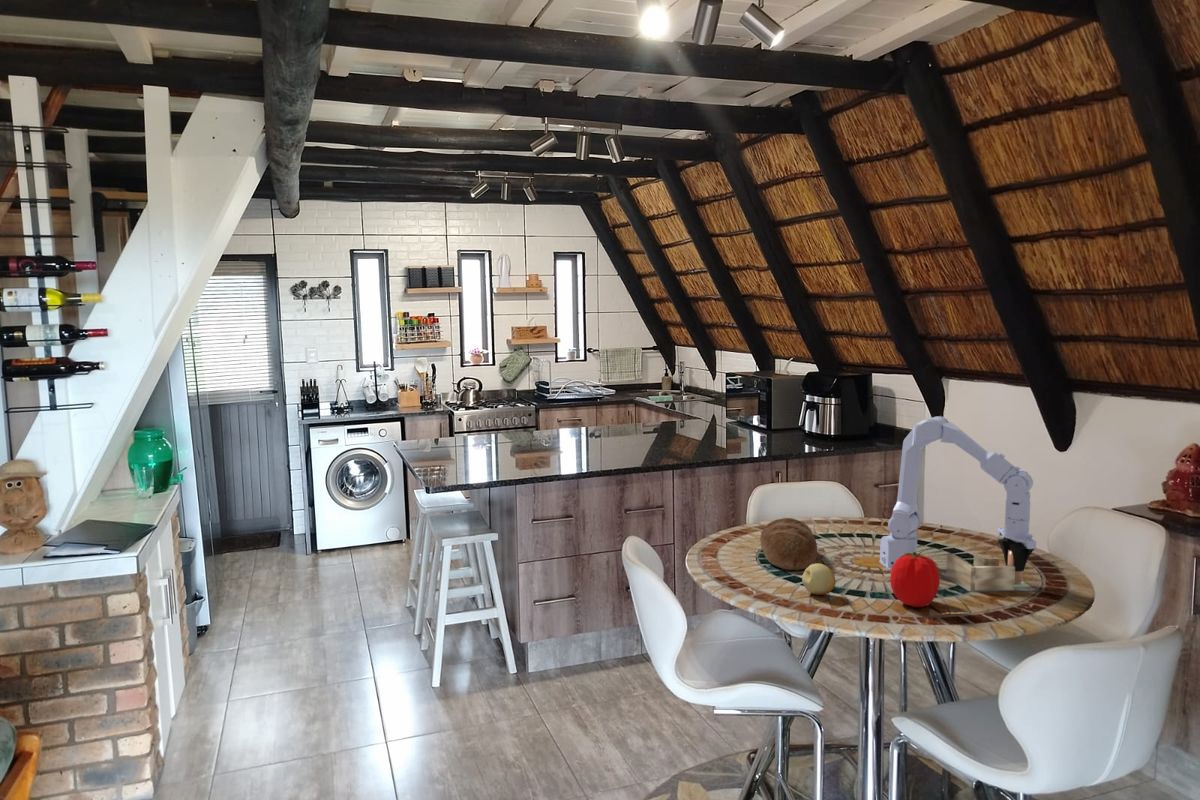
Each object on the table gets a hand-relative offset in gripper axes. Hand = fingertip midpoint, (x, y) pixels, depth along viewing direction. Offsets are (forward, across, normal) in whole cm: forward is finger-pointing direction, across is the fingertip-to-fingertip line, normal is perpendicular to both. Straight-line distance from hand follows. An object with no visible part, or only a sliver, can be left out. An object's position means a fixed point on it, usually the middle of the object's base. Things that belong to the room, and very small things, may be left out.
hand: (1014, 568), depth 216 cm
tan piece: (+4, +2, +8) cm, 10 cm away
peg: (+3, 0, 0) cm, 3 cm away
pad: (+4, 0, 0) cm, 4 cm away
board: (+5, +3, +6) cm, 8 cm away
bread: (+5, +30, +52) cm, 60 cm away
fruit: (+5, -4, +54) cm, 54 cm away
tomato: (+5, -13, +33) cm, 36 cm away
